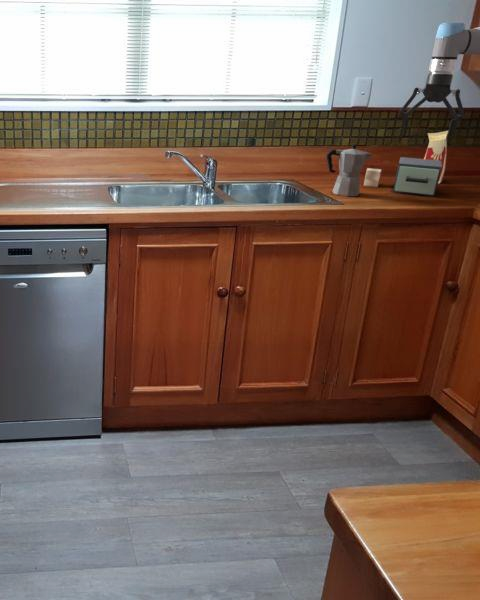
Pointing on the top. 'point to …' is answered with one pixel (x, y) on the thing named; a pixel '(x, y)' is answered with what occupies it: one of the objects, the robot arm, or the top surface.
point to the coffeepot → (348, 170)
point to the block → (372, 177)
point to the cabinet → (420, 164)
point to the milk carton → (437, 150)
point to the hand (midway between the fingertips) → (425, 137)
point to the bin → (416, 180)
